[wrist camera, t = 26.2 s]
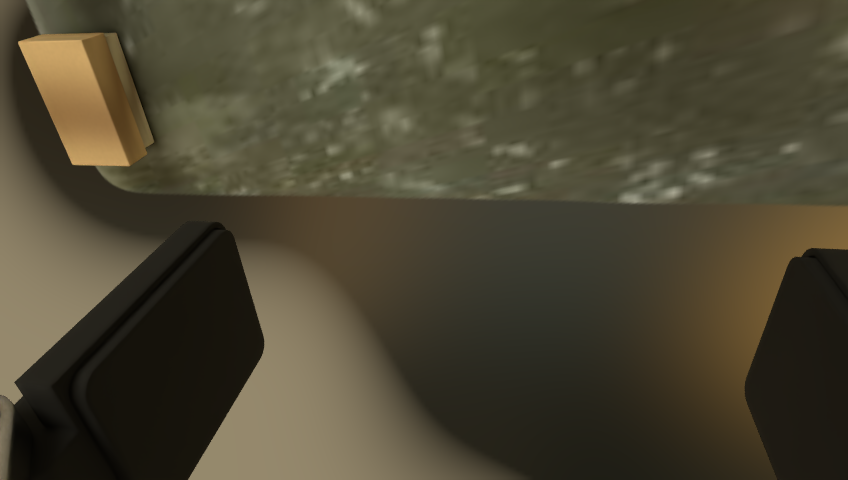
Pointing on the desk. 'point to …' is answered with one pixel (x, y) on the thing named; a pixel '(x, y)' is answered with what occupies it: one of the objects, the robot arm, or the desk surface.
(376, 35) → the desk surface
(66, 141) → the tan rectangular brick
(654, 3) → the desk surface
